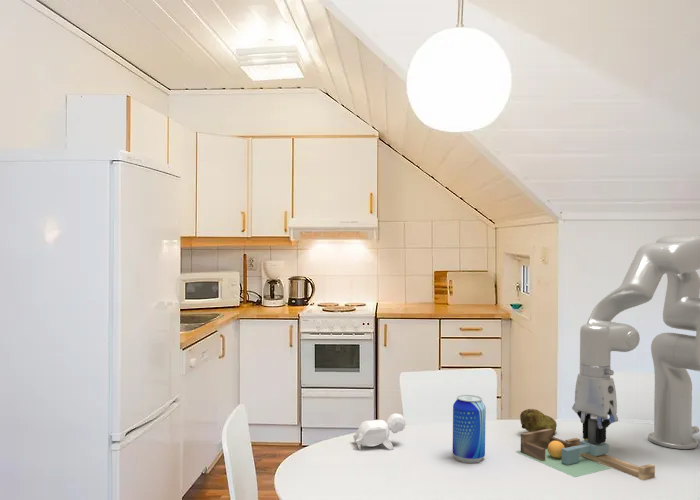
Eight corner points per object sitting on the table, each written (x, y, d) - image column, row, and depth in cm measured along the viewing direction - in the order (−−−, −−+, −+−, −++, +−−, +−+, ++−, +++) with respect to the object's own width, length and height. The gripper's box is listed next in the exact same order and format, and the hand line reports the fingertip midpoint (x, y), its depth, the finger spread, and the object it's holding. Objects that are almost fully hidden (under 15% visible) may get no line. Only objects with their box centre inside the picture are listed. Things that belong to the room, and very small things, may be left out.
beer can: (490, 458, 153) (491, 397, 153) (474, 466, 147) (475, 403, 147) (463, 450, 159) (464, 392, 159) (446, 458, 153) (446, 397, 153)
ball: (571, 452, 152) (561, 459, 155) (562, 436, 155) (553, 443, 158) (559, 454, 150) (549, 462, 153) (551, 438, 153) (541, 446, 156)
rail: (576, 448, 162) (576, 437, 162) (654, 477, 141) (654, 465, 141) (565, 450, 160) (565, 440, 160) (643, 481, 139) (643, 468, 139)
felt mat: (549, 445, 164) (549, 444, 164) (610, 469, 147) (610, 468, 147) (515, 452, 158) (515, 451, 158) (574, 477, 141) (574, 477, 141)
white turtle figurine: (364, 462, 157) (414, 440, 160) (353, 434, 157) (403, 411, 159) (358, 452, 166) (406, 430, 168) (348, 424, 165) (396, 403, 168)
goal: (549, 446, 163) (549, 428, 163) (571, 454, 156) (571, 436, 156) (520, 452, 158) (520, 433, 158) (541, 461, 151) (542, 441, 151)
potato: (566, 438, 171) (567, 411, 171) (527, 441, 168) (527, 413, 168) (551, 429, 179) (551, 403, 179) (513, 432, 176) (513, 405, 176)
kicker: (592, 452, 157) (593, 416, 157) (608, 458, 153) (608, 421, 153) (556, 460, 151) (557, 423, 151) (572, 467, 147) (572, 428, 147)
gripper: (632, 375, 149) (631, 447, 149) (578, 364, 163) (577, 429, 163) (613, 378, 145) (612, 452, 145) (559, 366, 159) (559, 433, 159)
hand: (594, 439), depth 154 cm, fingers closed on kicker, 3 cm apart
